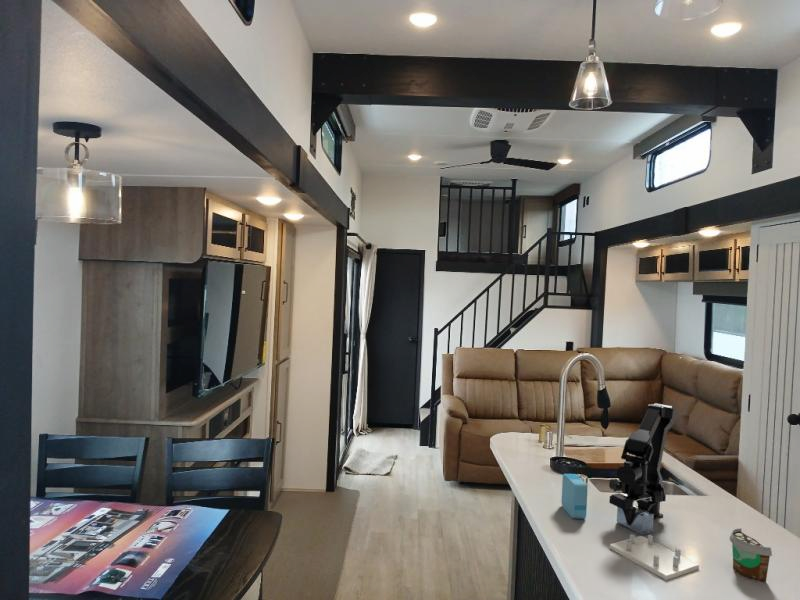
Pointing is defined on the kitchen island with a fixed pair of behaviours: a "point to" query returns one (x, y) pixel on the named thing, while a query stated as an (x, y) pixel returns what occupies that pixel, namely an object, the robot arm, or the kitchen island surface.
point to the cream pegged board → (654, 556)
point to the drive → (637, 520)
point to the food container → (749, 556)
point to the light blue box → (574, 496)
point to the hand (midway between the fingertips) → (634, 523)
